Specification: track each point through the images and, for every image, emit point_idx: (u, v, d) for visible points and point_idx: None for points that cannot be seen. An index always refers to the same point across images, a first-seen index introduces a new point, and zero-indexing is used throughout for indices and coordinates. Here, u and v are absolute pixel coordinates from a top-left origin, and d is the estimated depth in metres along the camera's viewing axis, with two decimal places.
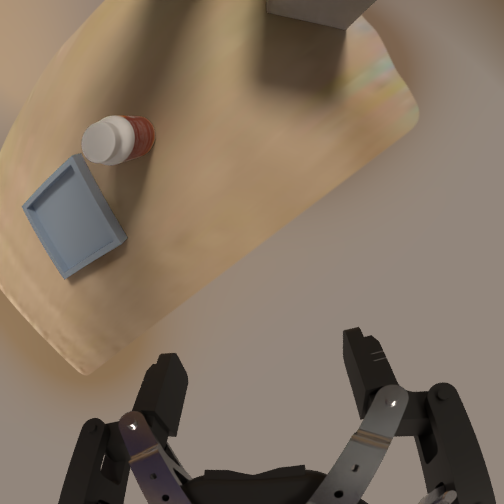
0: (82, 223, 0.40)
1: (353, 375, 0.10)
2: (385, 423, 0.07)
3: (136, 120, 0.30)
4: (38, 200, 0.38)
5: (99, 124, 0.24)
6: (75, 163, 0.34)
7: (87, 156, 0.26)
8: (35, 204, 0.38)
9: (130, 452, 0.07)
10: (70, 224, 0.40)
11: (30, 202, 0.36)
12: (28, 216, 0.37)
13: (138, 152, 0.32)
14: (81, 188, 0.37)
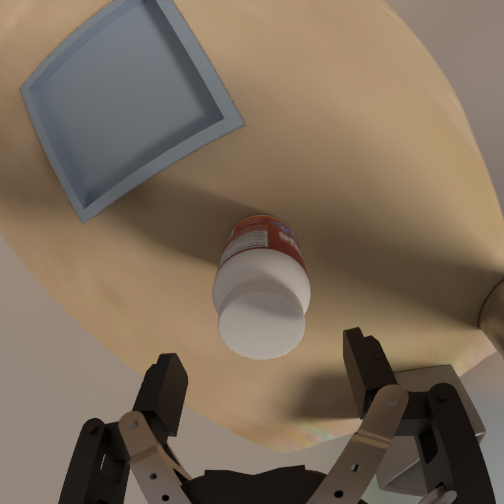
0: (109, 125, 0.19)
1: (353, 375, 0.10)
2: (385, 423, 0.07)
3: None
4: (161, 11, 0.15)
5: (298, 335, 0.15)
6: (225, 131, 0.18)
7: (233, 306, 0.14)
8: (154, 3, 0.15)
9: (130, 452, 0.07)
10: (107, 96, 0.18)
11: None
12: None
13: None
14: (173, 128, 0.20)
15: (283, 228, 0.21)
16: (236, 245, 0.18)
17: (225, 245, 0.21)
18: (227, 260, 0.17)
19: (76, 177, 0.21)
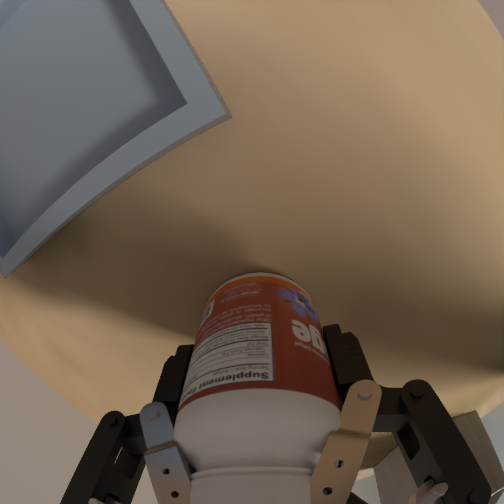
0: (24, 131, 0.10)
1: None
2: (362, 418, 0.07)
3: None
4: None
5: None
6: (189, 128, 0.09)
7: None
8: None
9: (147, 443, 0.08)
10: (23, 88, 0.09)
11: None
12: None
13: None
14: (107, 128, 0.10)
15: (298, 304, 0.12)
16: (213, 358, 0.09)
17: (199, 330, 0.12)
18: (194, 399, 0.08)
19: None
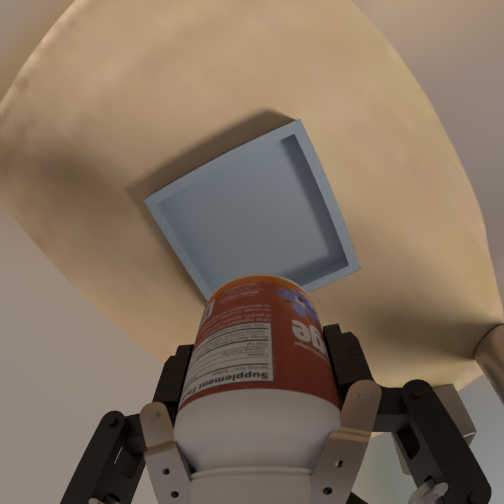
0: (250, 252, 0.29)
1: None
2: (362, 418, 0.07)
3: None
4: (300, 156, 0.25)
5: None
6: (348, 273, 0.28)
7: None
8: (293, 144, 0.24)
9: (147, 443, 0.08)
10: (249, 228, 0.28)
11: (305, 150, 0.23)
12: (276, 134, 0.22)
13: None
14: (305, 261, 0.29)
15: (298, 304, 0.12)
16: (213, 358, 0.09)
17: (199, 330, 0.12)
18: (194, 399, 0.08)
19: (215, 288, 0.30)
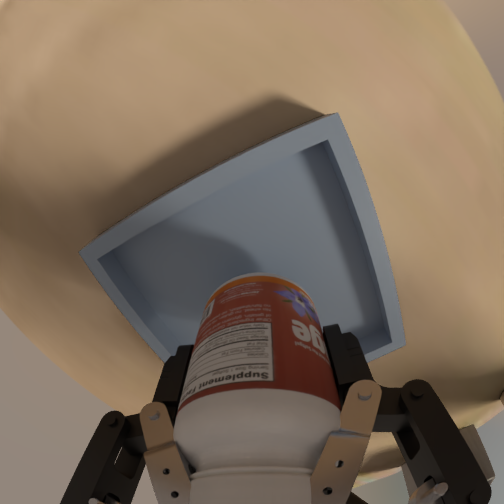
0: None
1: None
2: (362, 418, 0.07)
3: None
4: (333, 178, 0.14)
5: None
6: (389, 351, 0.17)
7: None
8: (321, 157, 0.14)
9: (147, 443, 0.08)
10: None
11: (346, 171, 0.12)
12: (295, 140, 0.12)
13: None
14: None
15: (298, 304, 0.12)
16: (213, 358, 0.09)
17: (199, 330, 0.12)
18: (194, 399, 0.08)
19: None
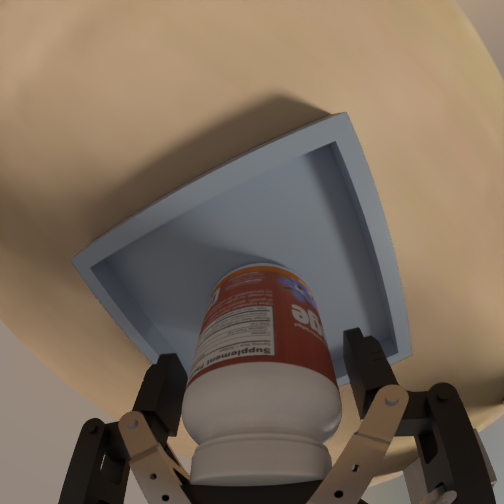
0: None
1: (353, 375, 0.10)
2: (385, 423, 0.07)
3: None
4: (340, 182, 0.13)
5: None
6: (394, 361, 0.16)
7: (212, 480, 0.06)
8: (328, 160, 0.13)
9: (130, 452, 0.07)
10: None
11: (355, 175, 0.12)
12: (300, 141, 0.11)
13: None
14: (334, 345, 0.18)
15: (297, 291, 0.13)
16: (219, 337, 0.10)
17: (205, 316, 0.13)
18: (202, 374, 0.09)
19: None
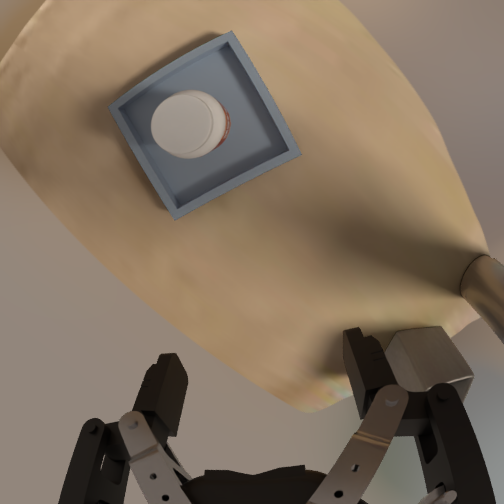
0: None
1: (353, 375, 0.10)
2: (385, 423, 0.07)
3: (218, 145, 0.25)
4: (236, 61, 0.25)
5: (207, 126, 0.19)
6: (289, 158, 0.29)
7: (161, 106, 0.18)
8: (230, 53, 0.25)
9: (130, 452, 0.07)
10: None
11: (237, 52, 0.24)
12: (213, 43, 0.23)
13: None
14: (249, 152, 0.30)
15: None
16: None
17: None
18: None
19: (166, 184, 0.31)
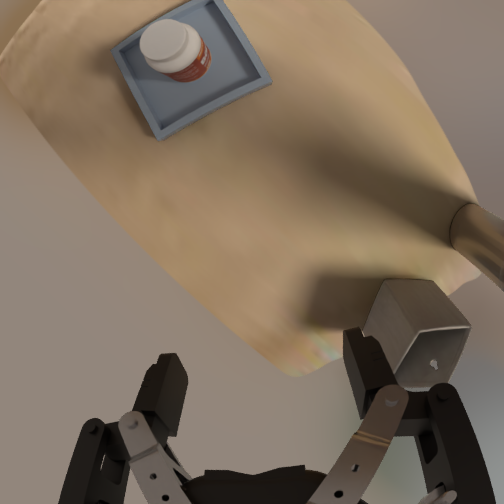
0: None
1: (353, 375, 0.10)
2: (385, 423, 0.07)
3: (196, 68, 0.26)
4: (218, 13, 0.26)
5: (182, 39, 0.19)
6: (261, 84, 0.29)
7: (148, 28, 0.19)
8: (214, 7, 0.26)
9: (130, 452, 0.07)
10: None
11: (218, 5, 0.24)
12: None
13: None
14: (227, 83, 0.31)
15: None
16: None
17: None
18: None
19: (154, 112, 0.32)
